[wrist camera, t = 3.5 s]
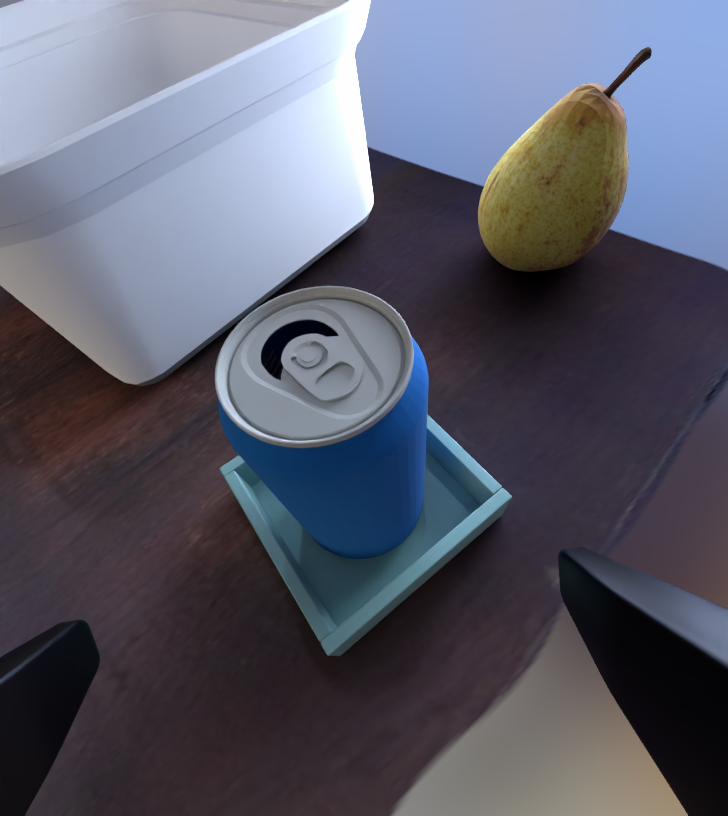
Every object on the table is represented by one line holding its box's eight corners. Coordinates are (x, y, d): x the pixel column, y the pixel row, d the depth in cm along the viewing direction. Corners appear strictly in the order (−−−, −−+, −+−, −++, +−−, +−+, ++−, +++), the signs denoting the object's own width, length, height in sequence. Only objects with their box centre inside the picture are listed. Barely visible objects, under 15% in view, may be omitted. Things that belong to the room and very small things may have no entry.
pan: (501, 515, 20) (513, 496, 18) (339, 656, 18) (327, 656, 15) (379, 391, 25) (375, 363, 23) (239, 487, 23) (218, 468, 20)
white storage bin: (241, 132, 47) (180, -54, 35) (436, 202, 35) (446, -44, 23) (-44, 294, 36) (-285, 104, 24) (98, 481, 24) (-247, 290, 11)
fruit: (450, 256, 31) (466, 65, 21) (524, 205, 34) (572, 11, 23) (543, 310, 27) (618, 105, 17) (620, 247, 29) (727, 35, 19)
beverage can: (365, 424, 23) (326, 249, 13) (449, 498, 21) (480, 346, 10) (279, 498, 22) (159, 361, 11) (358, 592, 19) (289, 518, 9)
